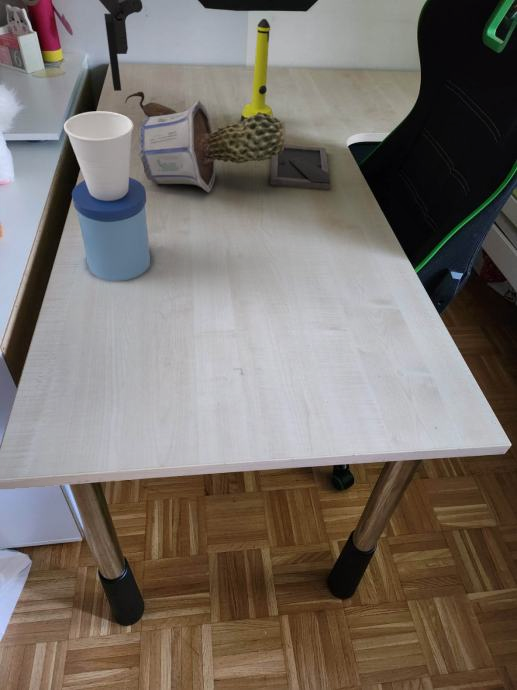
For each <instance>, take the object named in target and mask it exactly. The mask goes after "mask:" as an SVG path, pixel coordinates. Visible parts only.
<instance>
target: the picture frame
mask: <svg viewBox="0 0 517 690" xmlns="http://www.w3.org/2000/svg"><path fill="white" fill-rule="evenodd" d="M327 156H328V155H327V149H326V147H316V146H306V145H294V144H285V146H284V148H283V150H282V151H281V154H276V156H275V157H273V158H272V159H271V165H270V186H273V187H274V186H275V187H283V188H284V187H286V188H299V189H307V190H309V189H310V190H321V191H329V190H330V185H331V179H330V173H329V165H328V157H327Z"/></svg>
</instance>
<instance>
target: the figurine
mask: <svg viewBox="0 0 517 690" xmlns="http://www.w3.org/2000/svg"><path fill="white" fill-rule="evenodd" d="M132 97H140V98H141V99H140V101H139V106H140V108H141V110H142V111H143V113H144V115H145V116H146V117H147V118H148V117H153V116H162V115H169V114H174V113H178V112H177V111H176V110H175V109H172V108H169V107H167V106H165V105H163V104H160V103H157V102H148V103H146V104H144V105H143V103H144V100H145V94H144V92H143V91H137V92H134V93H132V94H130V95H128V96H127V97H126V98H125V99H126V100H125V104H127V101H128V99H130V98H132Z"/></svg>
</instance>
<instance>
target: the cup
mask: <svg viewBox="0 0 517 690" xmlns="http://www.w3.org/2000/svg"><path fill="white" fill-rule="evenodd" d="M133 129H134V122H133V121H132V120H131V118H129V117H128V116H126V115H124V114H121V113H117V112H114V111H107V110H106V111H105V110H103V111H102V110H96V111H86V112H82V113H78V114H76V115H73V116H71V117H69V118H68V119H67V120H66V121H65V122H64V124H63V130H64V131H65V133H66V134H67V136H68V139H69V143H70V144H71V147H72V149H73V152H74V155H75V157H76V160H77V163H78V166H79V168H80V171H81V173H82V177H83V179H84V180H85V182H86V185H87V188H88V190H89V193H90V194H91V195H92V196H93V197H95V198H96V199H98V200H102V201H114V200H118V199H120V198H122V197H124V196H125V195H126V194H127V192H128V186H129V177H130V167H131V165H130V164H131V150H132V136H133V135H132V133H133Z"/></svg>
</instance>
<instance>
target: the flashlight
mask: <svg viewBox="0 0 517 690" xmlns="http://www.w3.org/2000/svg"><path fill="white" fill-rule="evenodd" d="M256 30H257V33H256V34H257V35H256V43H255V44H256V45H255V46H256V48H255V58H254V71H253V80H252V81H253V82H252V93H251V95H252V96H251V102H250V103H247V104H245V105H244V107H243V108H242V109H243V110H242V111H241V115H240V122H242V121H244V119H245V118H246V117H247V118H249V117H251V116H255V115H256V114H257V113H258V112H260V113H262V114H263V113H265V114H267V115H270V116H272V117H274V113H273V110H272V107H271V106H270V105H268V104H266V97H267V96H266V94H267V90H268V89H267V77H268V62H269V61H268V60H269V45H270V44H269V43H270V31H271V25H270V23H269V21H268V20H267V19H266V18H262V19H261V20H260V21H259V22H258V24H257V26H256Z"/></svg>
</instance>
